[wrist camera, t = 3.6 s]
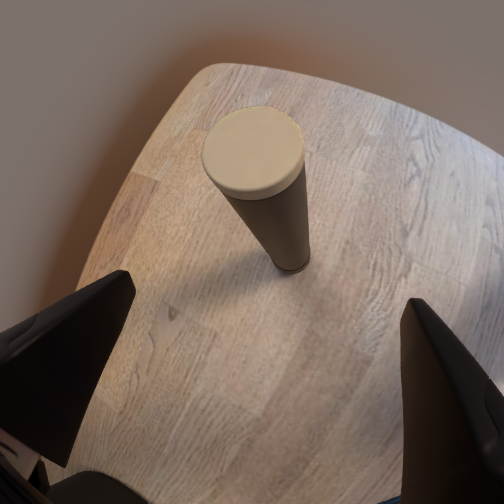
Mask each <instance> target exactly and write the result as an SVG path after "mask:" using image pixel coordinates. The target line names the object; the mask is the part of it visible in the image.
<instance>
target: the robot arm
mask: <svg viewBox="0 0 504 504" xmlns="http://www.w3.org/2000/svg"><path fill="white" fill-rule="evenodd" d="M135 295H136V289H135V286H134V283H133V281H132V278H131V276H130V273H129V272H128V271H125V270H116V271H114V272H112V273H110V274H108V275H107V276H105V277H103V278H101V279H99V280H97V281H95V282H93V283H91V284H89V285H87V286H86V287H84V288H82V289H80V290H78V291H76V292H74V293H73V294H71V295H69V296H67V297H65V298H63V299H62V300H60V301H58V302H56V303H54V304H53V305H51V306H49V307H47V308H45V309H44V310H42V311H40V312H39V313H37V314H35V315H33V316H31V317H30V318H28V319H26V320H24V321H22V322H21V323H19V324H17V325H15V326H13V327H11V328H9V329H7V330H5V331H3V332H1V333H0V504H53V503H52V502H51V501H49V500H48V499H47V498H46V496H47V494H48V492H49V490H50V485H49V481H48V477H47V473H46V469H45V464H44V462H43V461H42V460H41V459H39V458H40V456H41V455H42V456H43V457H45V458H47V459H48V460H50V461H52V462H54V463H56V464H57V465H59V466H61V467H63V468H66V466H67V463H68V460H69V457H70V454H71V451H72V448H73V445H74V442H75V440H76V437H77V434H78V431H79V429H80V426H81V423H82V420H83V418H84V415H85V413H86V410H87V408H88V405H89V403H90V400H91V398H92V395H93V393H94V390H95V388H96V386H97V383H98V381H99V379H100V377H101V374H102V372H103V370H104V368H105V365H106V363H107V361H108V359H109V357H110V354H111V352H112V350H113V348H114V346H115V344H116V342H117V340H118V337H119V335H120V333H121V331H122V329H123V326H124V323H125V321H126V318H127V316H128V313H129V310H130V308H131V305H132V303H133V300H134V298H135ZM400 337H401V383H402V398H403V425H404V447H403V473H402V487H401V496H400V504H504V396H503V395H502V393H501V392H500V391H499V389H498V388H497V387H496V386H495V384H494V383H493V381H492V380H491V379H489V376H488V375H487V374H486V372H485V371H484V370H483V368H482V367H481V366H480V365H479V363H478V362H477V361H476V360H475V358H474V357H473V356H472V355H471V353H470V352H469V351H468V350H467V348H466V347H465V346H464V345H463V344H462V342H461V341H460V340H459V339H458V338H457V337H456V335H455V334H454V333H453V332H452V331H451V330H450V328H449V327H448V326H447V325H446V324H445V323H444V322H443V321H442V319H441V318H440V317H439V316H438V315H437V314H436V313H435V312H434V311H433V310H432V308H431V307H430V306H429V305H428V304H427V303H426V302H425V301H424V300H423V299H421V298H410V299H409V300H408V302H407V304H406V307H405V309H404V312H403V315H402V317H401V321H400Z"/></svg>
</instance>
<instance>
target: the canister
mask: <svg viewBox="0 0 504 504" xmlns="http://www.w3.org/2000/svg"><path fill="white" fill-rule="evenodd" d="M304 157H305V152H304V140H303V135H302V132H301V130H300V128H299V126H298V125H297V124H296V122H295V121H294V120H293V119H292V118H291V117H289V116H288V115H287V114H285V113H284V112H282V111H279V110H277V109H274V108H270V107H262V106H255V107H247V108H242V109H239V110H236V111H234V112H232V113H230V114H228V115H226V116H225V117H223V118H222V119H220V120H219V121H218V122H217V123H216V124H215V125H214V126H213V127H212V128H211V129H210V131H209V132H208V134H207V136H206V137H205V140H204V142H203V146H202V152H201V159H202V165H203V167H204V170H205V172H206V174H207V175H208V176H209V178H210V179H211V180H212V182H213V183H214V184H215V185H216V187H217V188H218V189H219V190H220V191H221V192H222V193H223V195H224V196H225V197H226V199H227V200H228V201H229V203H230V204H231V205H232V207H233V208H234V209H235V211H236V212H237V213H238V215H239V216H240V217H241V218H242V220H243V221H244V222H245V224H246V225H247V226H248V228H249V229H250V230H251V232H252V233H253V234H254V236H255V237H256V238H257V240H258V241H259V242H260V244H261V245H262V246H263V248H264V249H265V250H266V252H267V253H268V254H269V256H270V257H271V259H272V261H273V262H274V264H275V265H276V266H277V268H278V269H279V270H281V271H282V272H285V273H288V274H294V273H298V272H300V271H302V270H303V269H304V268H305V267H306V266H307V265H308V263H309V260H310V246H309V226H308V206H307V189H306V175H305V162H304Z"/></svg>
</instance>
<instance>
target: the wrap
mask: <svg viewBox="0 0 504 504" xmlns="http://www.w3.org/2000/svg"><path fill="white" fill-rule="evenodd" d="M46 498H47V499H48V500H49V501H51V502H52V503H53V504H148V503H147V502H146V501H145V500H144V499H142V498H141V497H140V496H138V495H137V494H135V493H134V492H133V491H131V490H130V489H128V488H127V487H125V486H123V485H121V484H119V483H117V482H116V481H113V480H112V479H109V478H107V477H105V476H103V475H101V474H99V473H96V472H93V471H83V472H80V473H77V474H75V475H73V476H71V477H69V478H67V479H64V480H62V481H60V482H58V483H56V484H54V485H51V486H50V490H49V492H48V494H47V496H46Z"/></svg>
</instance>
